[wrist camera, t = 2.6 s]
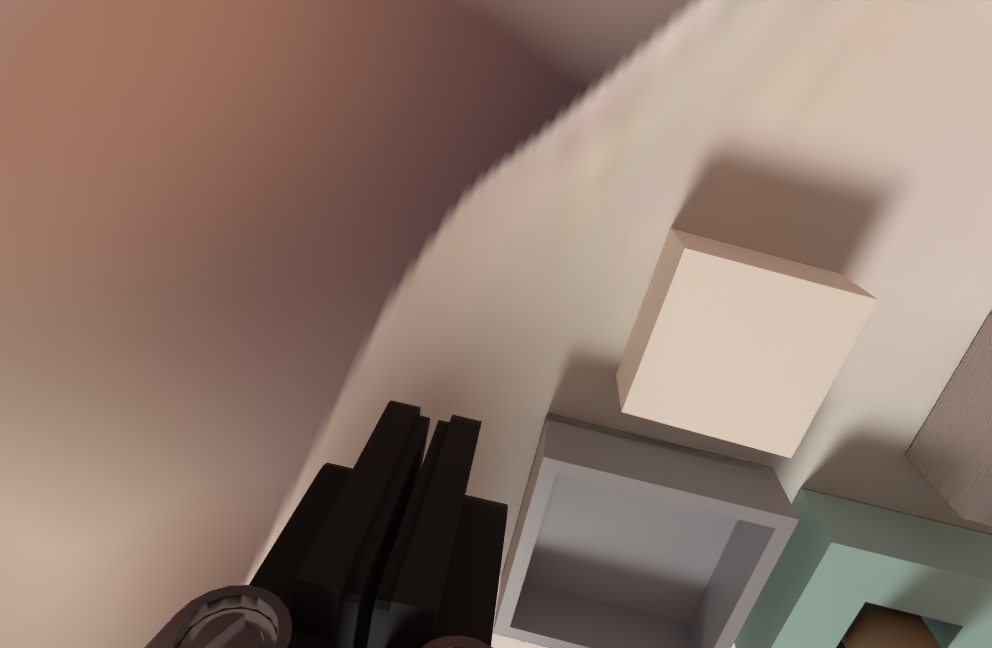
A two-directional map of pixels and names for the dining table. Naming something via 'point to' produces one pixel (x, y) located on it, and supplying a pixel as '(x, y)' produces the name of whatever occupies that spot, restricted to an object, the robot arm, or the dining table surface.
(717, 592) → the tray
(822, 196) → the dining table surface
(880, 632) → the dowel
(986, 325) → the grayish brown rectangular block
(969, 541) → the socket block
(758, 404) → the cream square tile
